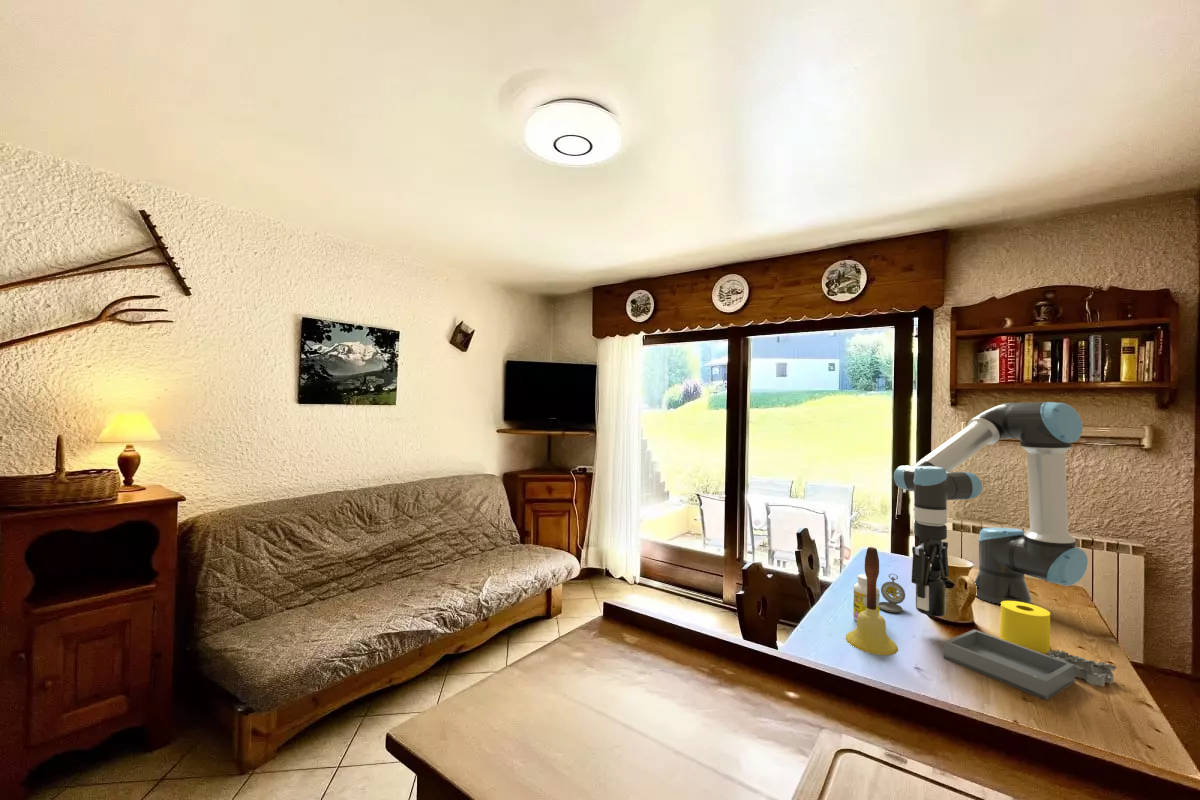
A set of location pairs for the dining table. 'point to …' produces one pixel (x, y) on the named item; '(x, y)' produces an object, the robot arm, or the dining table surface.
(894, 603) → the pocket watch
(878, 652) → the handbell
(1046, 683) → the tray
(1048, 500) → the robot arm
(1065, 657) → the egg carton
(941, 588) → the supplement bottle
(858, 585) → the supplement bottle
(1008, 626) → the yellow toilet roll
